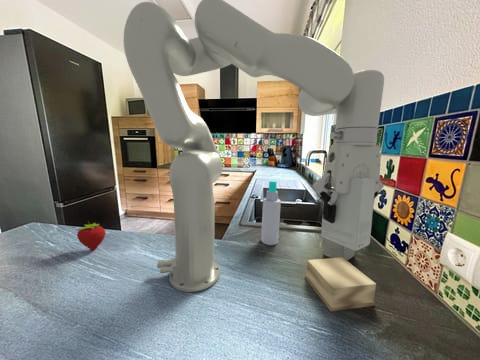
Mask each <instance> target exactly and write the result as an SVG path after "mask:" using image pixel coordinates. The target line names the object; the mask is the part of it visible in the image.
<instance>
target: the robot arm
mask: <svg viewBox="0 0 480 360" xmlns="http://www.w3.org/2000/svg"><path fill="white" fill-rule="evenodd" d="M195 9H196V10H195V13H194V28H195V32H196V35H197V37H194V38H190V39H189V38H188V36H187V35H186V33H185V32H184V30H183V29H182V27H181V26H180V25H179V24H178V22H177V21H176V19H175V18H174V17H173V16H172V15H171V13H169V11H168V10H166V9H165V8H163V7H162V6H160V5H159V4H156V3H155V2H151V1H143V2H139V3H137V4H136V5H135V6H133V8H132V9H131V10H130V12H129V14H128V16H127V19H126V21H125V24H124V25H125V26H124V30H123V50H124V54H125V58H126V61H127V64H128V67H129V69H130V71H131V74H132V77H133V78H134V80H135V83H136V84H137V87H138V89H139V92H140V95H141V96H142V98H143V99H142V100H143V102H144V104H145V106H146V108H147V112H148V113H149V116H150V118H151V121H152V122H153V125H154V127H155V129H156V133H157V135H158V137H159V138H160V140H161V141H162V142H163V143H164V144H165V145H167V146H169V147H172V148H179V149H181V151H182V152H181V153H179V154H178V155H176V156H175V158H173V160H172V161H171V164H170V166H169V173H168V174H169V175H168V176H169V183H170V188H171V192H172V193H171V194H172V199H173V214H174V215H173V218H174V246H175V247H174V249H175V254H174V255H175V256H174V257H172V258H170V259H158V261H157V266H156V267H157V269H160V271H159V272H160V273H159V274H166V273H169V275H168V277H169V283H170V285H171V286H172V287H173V288H174V289H175V290H178V291H180V292H186V293H194V292H195V293H196V292H200V291H203V290H206V289H208V288H211V286H213V285H214V284H215V283H216V282H217V281H218V280H219V278H220V275H221V268H220V265H219V263H218V261H215V217H216V216H215V197H214V196H215V195H214V189H213V187H214V186H213V184H214V183H215V182H217V181H218V180H219V178H220V177H221V175H222V172H223V162H222V159H221V157H220V154H219V151H218V149H217V146H216V144H215V142H214V138H213V137H212V133H211V131H210V129H209V126H208V125H207V123H206V121H204V119H203V117H201V116H200V115H199V114H196V113H195V112H194V111H192V110H191V109H190V107H189V105H188V103H187V101H186V98H185V96H184V93H183V92H182V88H181V86H180V84H179V81H178V80H177V78H176V76H180V77H189V76H195V75H198V74H202V73H207V72H211V71H216V70H219V69H224V68H225V67H228V66H231V65H233V66H235V67H236V68H238V69H239V70H241V71H243V72H244V73H245V74H246V75H248V76H249V77H251V78H252V77H253V78H260V77H263V76H274V77H278V78H280V79H282V80H284V81H286V82H288V83H290V84H291V85H293V86H295V87H296V88H298V89H299V90H300V91H299V94H298V97H297V104H298V108H299V109H300V111H301V112H302V113H303V114H305V115H307V116H312V117H316V116H317V117H318V116H319V117H320V116H326V115H332V114H333V115H334V114H336V118H335V129H334V131H332V132H330V135H329V138H330V139H333V145H330V147H329V148H330V149H329V152H328V154H327V159H326V163H325V169H324V174H323V176H321V177H320V178H319V179H318V180H316V181H315V182H313V184H312V188H313V189H314V191H315V192H316V194H317V196H318V198H320V200H321V202H322V203H323V202H324V206H323V205H322V215H323V219H325V220H326V221H328V222H330V223H334V222H335V215H336V205H334V203H335V201H336V199H337V198H338V196H339V195H340V194H349V193H350V190H351V183H352V178H360V177H367V178H368V177H369V178H370V177H374V178H375V186H374V200H375V199H376V198H377V197H378V196H379V193H380V192H381V191H382V190H383V189H384V184H383V183H382V181H381V180H380V178H381V177H380V176H381V151H380V145H377V138H378V132H379V130H378V129H379V125H380V123H379V122H380V118H381V108H382V100H383V93H384V87H385V77H384V74H383V72H382V71H379V70H377V69H376V70H375V69H366V70H359V71H356V72H354V71H353V69H352V66H351V64H349V62H347V60H346V59H345V58H344V57H343V56H341V55H340V54H338V53H337V52H336V51H334V50H333V49H331V48H329V47H328V46H327V45H326V44H324V43H321V42H320V41H318V40H317V39H315V38H313V37H309V36H306V35H302V34H297V33H296V34H295V33H293V34H292V33H284V32H283V33H282V32H280V33H278V32H277V33H276V32H274V31H271V30H270V29H268V28H266V27H265V26H263V25H262V24H260V23H259V22H257V21H255V20H254V19H253V18H251V17H249V16H248V15H246V14H245V13H243V12H242V11H240V10H239V9H237V8H236V7H234V6H233V5H231V4H230V3H229V2H226V1H225V0H200V2H199V4H197V7H196V8H195ZM175 75H176V76H175ZM330 181H331V185H329V187H327V184H328V182H330ZM331 186H332V189H331ZM324 188H325V189H327V188H328V189H327V190H326V192H325V191H324ZM331 193H332V195H331Z"/></svg>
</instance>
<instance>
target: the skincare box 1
mask: <svg viewBox="0 0 480 360" xmlns="http://www.w3.org/2000/svg"><path fill="white" fill-rule="evenodd" d="M329 185H331V181H330V182H328V184H327V187H329ZM374 186H375V178H374V177H370V178H369V177H368V178H367V177H360V178H352V183H351V190H350V193H349V194H340V195H339V196H338V198H337V199H336V201H335V203H334V205H336V215H335V222H334V223H330V222H328V221H326V220H325V219H323V214H322V215H321V217H322V218H321V235H320V237H321V238H323V239H324V238H326V239H328V240H331V241H333V242H336V243H338V244H340V245H343V246H345V247H347V248H350V249H352V250H355V252H357V251H359V250H361V249H364V248H366V247H368V246H369V245H370V243H371V234H372V233H371V232H372V224H373V213H374V202H375V201H374V200H375V199H374ZM323 189H324V191H325V192H326V190H327V189H328V188H327V189H325V188H324V187H323ZM331 189H332V186H331ZM331 195H332V193H331ZM323 206H324V202H323V201H322V207H323Z"/></svg>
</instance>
